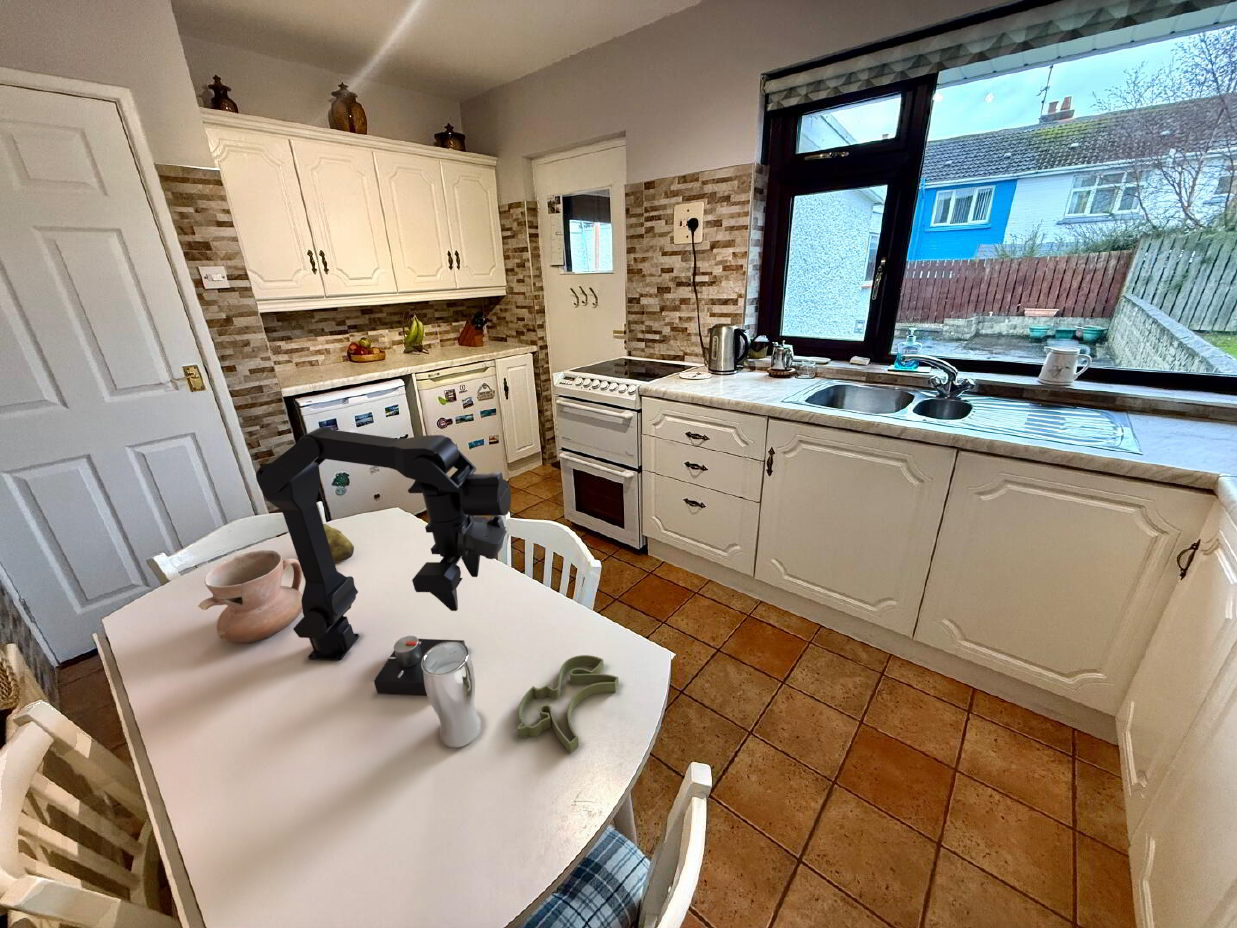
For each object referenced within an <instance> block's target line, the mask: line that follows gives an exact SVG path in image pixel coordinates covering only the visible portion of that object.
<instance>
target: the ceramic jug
mask: <svg viewBox="0 0 1237 928" xmlns="http://www.w3.org/2000/svg"><path fill="white" fill-rule="evenodd" d="M290 566H291V567H292V572H293V577H292V584H291V586H285V585H282V582H283V581H282V580H283V574H284V572H285V570H286V569H288V567H290ZM302 576H303V572H302V569H301V566H300V563H299V560H298V559H296V558H286V559H284V560H283V557H282V555H281V553H280V552H279V551H276V550H273V549H272V550H271V549H270V550H269V549H260V550H253V551H249V552H245V553H243V554H238V555H235V556H233V557H230V558H228V559H226V560H224V561H222V562H220V563H218V564H217V565H216V566H215V567H213V568H211V569H210V570H209V571H208V572H207V573H206V575H205V577H204V584H205V586H206V588H207V589H208V591H209V592H210V593H211V594H212V597H208V598H205V599H204V600H201V602H199V604H198V605H197V607H198V608H200V609H201V610H203V611H207V610H208V609H209V608H211V607H214V606H215V607H216V606H224V605H226V607H225V608H224V610H222V612H221V613H220V614H219V616H218V617H217V618H218V619H217V621H216V629H217V631H216V633H217V637H218V638H219V639H220V640H223V641H226V642H230V643H237V644H238V643H241V644H242V643H252V642H256V641H257V642H258V641H260V640H263V639H266V638H269V637H271V636H273V635H275V634H278V633H279V632H281V631H283V630H284V629H286V628H287V627H288V626H290V625H291V624H292V623H293V622H295V621H296V620H297V619H298V617H299V616H300V614H301V613H302V612H303V609H302V602H301V599H302V595H303V593H301V592H300V586H301V583H302V578H303V577H302Z"/></svg>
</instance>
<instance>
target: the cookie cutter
mask: <svg viewBox="0 0 1237 928" xmlns="http://www.w3.org/2000/svg"><path fill="white" fill-rule="evenodd" d="M604 665H605V664H604V659H603V658H602V657H598V656H594V655H589V654H581V655H575V656H571V657H569V658H568V659H567V660H565V661H564V662H563V664H562V665H561V667H560V669H559V673H558V684H557V687H556V688H552V687H551V686H550V685H548V684H547V685H544V686H542V687H541V688H540V687H535V686H533V685H532V686H531V688H529V689H528V690H527V692H526V693H525V694H524V695H523V697H522V698H521V701H520V702H519V706H518V719H519V724H518V726H517V735H518V739H523V738H527V737H531V738H535V737H538V736H539V735H541V733H543V731H546V730H548V729H550V728H553V731H554V733H555V735H556V737H557V738H558V740H559V741H560V742H561V744H562V745H563V747H564V748H565V749H566V750H567V751H568V752H569V754H571V753H573V752H574V751H575V750H577V749H578V748H579V747H580V745H579V744H580V743H579V736H578V735H577V734H576V732H575V730H574V728H573V726H572V723H571V717H572V713H573V711H574V709H575V708H576V707H577V705H578V704H579V703H580V702H581V701H583V700H585V699H586V698H588V697H590V696H593V695H597V694H601V693H603V694H604V693H616V692H617V690H618V689H619V687H620V684H619V676H616V675H614V674H613V675H612V674H608V673H607V674H606V673H602V672H603V670H604V668H605V667H604ZM578 666H593V667H594V668H593V669H592V670H590V669H586V668H583V667H578ZM574 667H576V668H574ZM572 668H573V669H572ZM569 670H570V671H569ZM568 671H569V679H570V680H569V681H570V684H573V685H585V684H586V685H587V684H588V685H587V686H585V687H583V688H581V689H579V691H577V692H576V693H575V694H574V695H573V697H572V698H571V700H570V701H569V703H568V706H567V723H568V731H569V735H570V738H571V739H572V740H571V741H570V740H569V739H568V737H566V736H565V734H564V733H563V731H562V730H561V728H560V727H559V726H558V723H557V722H556V720H555V718H554V715H553V710H552V706H551V705H549V704H543V705H540V707H539V709H538V712H539V718H540V719H539V722H537V723H536V724H535V725H529V724H525V721H524V719H523V714H524V711H525V709H526V707H527V706H528V704H529V703H530V702H531V701H532V700H533V699H534V698H535V699H544V698H546V697H547V696H548V697H549V698H551V699H553V700H557V699H559V698H560V696H561V693H562V683H563V680H564V679H563V678H564V676H565V674H566V673H567V672H568Z"/></svg>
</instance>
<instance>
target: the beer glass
mask: <svg viewBox="0 0 1237 928" xmlns="http://www.w3.org/2000/svg"><path fill="white" fill-rule="evenodd" d="M473 665H474V664H473V662H472V659H471V655H470V653H469V648H468V647H467V645H466V644H465V645H464V644H463V643H461V642H457V641H448V642H444V643H441V644H438V645H436V646H434V647H433V648H431V649H430V650H429V651H428V652H427V653H426V654H425V655H424V657H423V659H422V661H421V667H422V673H423V681H424V686H425V690H426V694H427V696H426V697H427V699H428V701H429V703H430V706H431V707H432V709H433V712H434V713H435V714H436V716H437V718H438V721H439V725H440V727H439V737H440V740H441V743H442V744H443V745H444V746H446V747H448V748H452V749H459V748H464V747H465V746H468V745H469V744H471V743H472V742H474V740H475V739H476V738H477V737H478V735H479V734H480V732H481V729H482V721H481V718H480V716H479V714H478V713H477V710H476V705H475V704H476V703H475V701H476V700H475V699H476V675H475V670H474V666H473Z"/></svg>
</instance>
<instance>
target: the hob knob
mask: <svg viewBox="0 0 1237 928" xmlns="http://www.w3.org/2000/svg"><path fill="white" fill-rule="evenodd" d="M418 639H419V638H418V637H417V636H415V635H405V636H402V637H401V638H399V639H398V640H396V642H395V643H394V644H393V651H395V654H396V658H397V662H398V665H399V666H400V667H404V668H407V667H411V666H414V665H415V664H417V663H418V662H419V661H420V660H421V658H422V653H421V649H420V645H419V640H418Z"/></svg>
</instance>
